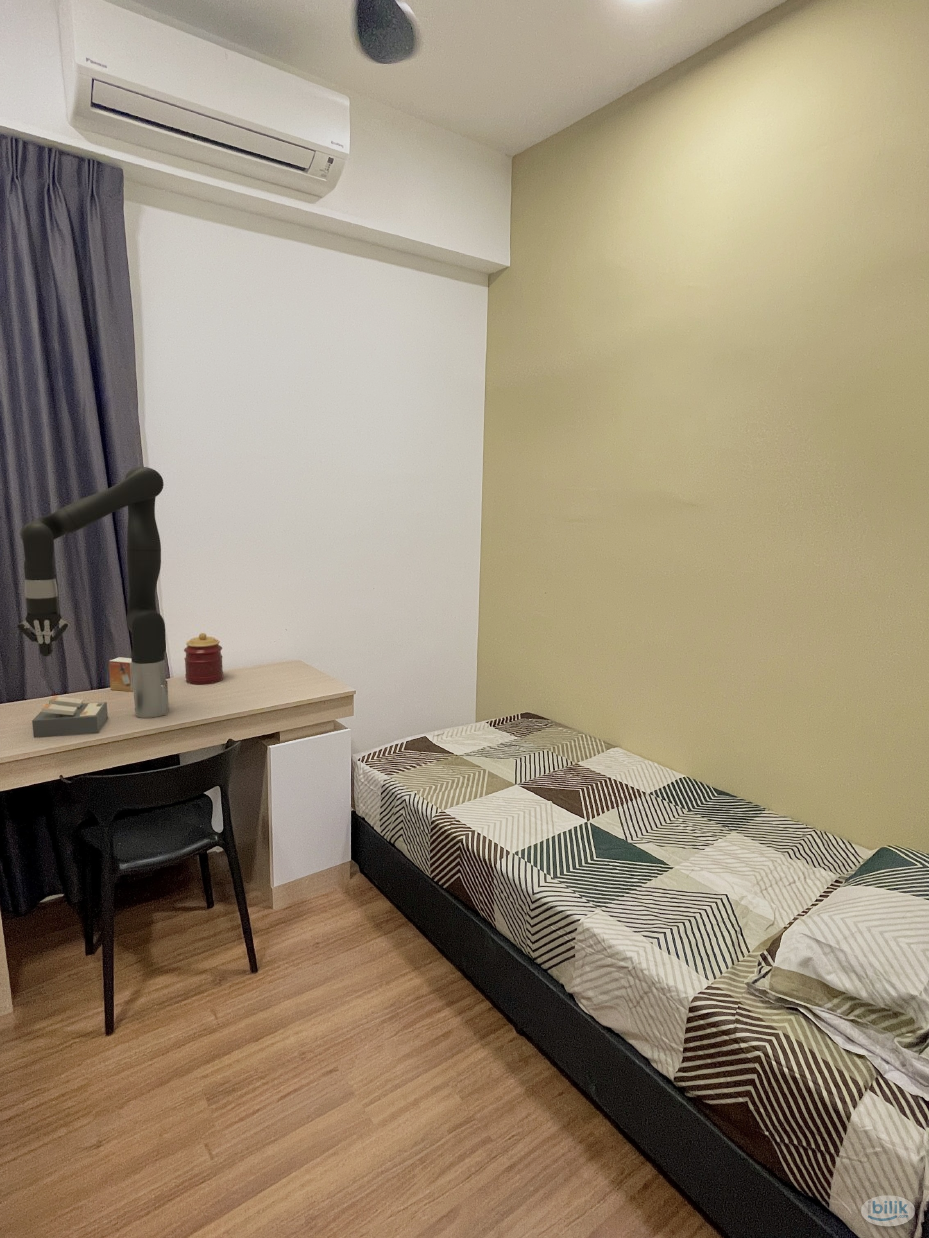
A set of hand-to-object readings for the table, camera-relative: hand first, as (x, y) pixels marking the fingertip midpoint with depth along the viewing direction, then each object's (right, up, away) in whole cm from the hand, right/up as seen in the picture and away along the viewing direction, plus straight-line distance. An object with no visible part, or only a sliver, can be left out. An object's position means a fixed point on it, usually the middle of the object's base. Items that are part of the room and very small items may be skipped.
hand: (46, 655), depth 182 cm
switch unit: (+3, -21, +7) cm, 23 cm away
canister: (+22, -12, +56) cm, 62 cm away
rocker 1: (0, -14, +8) cm, 17 cm away
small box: (0, -14, +43) cm, 45 cm away
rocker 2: (+2, -16, +2) cm, 16 cm away
